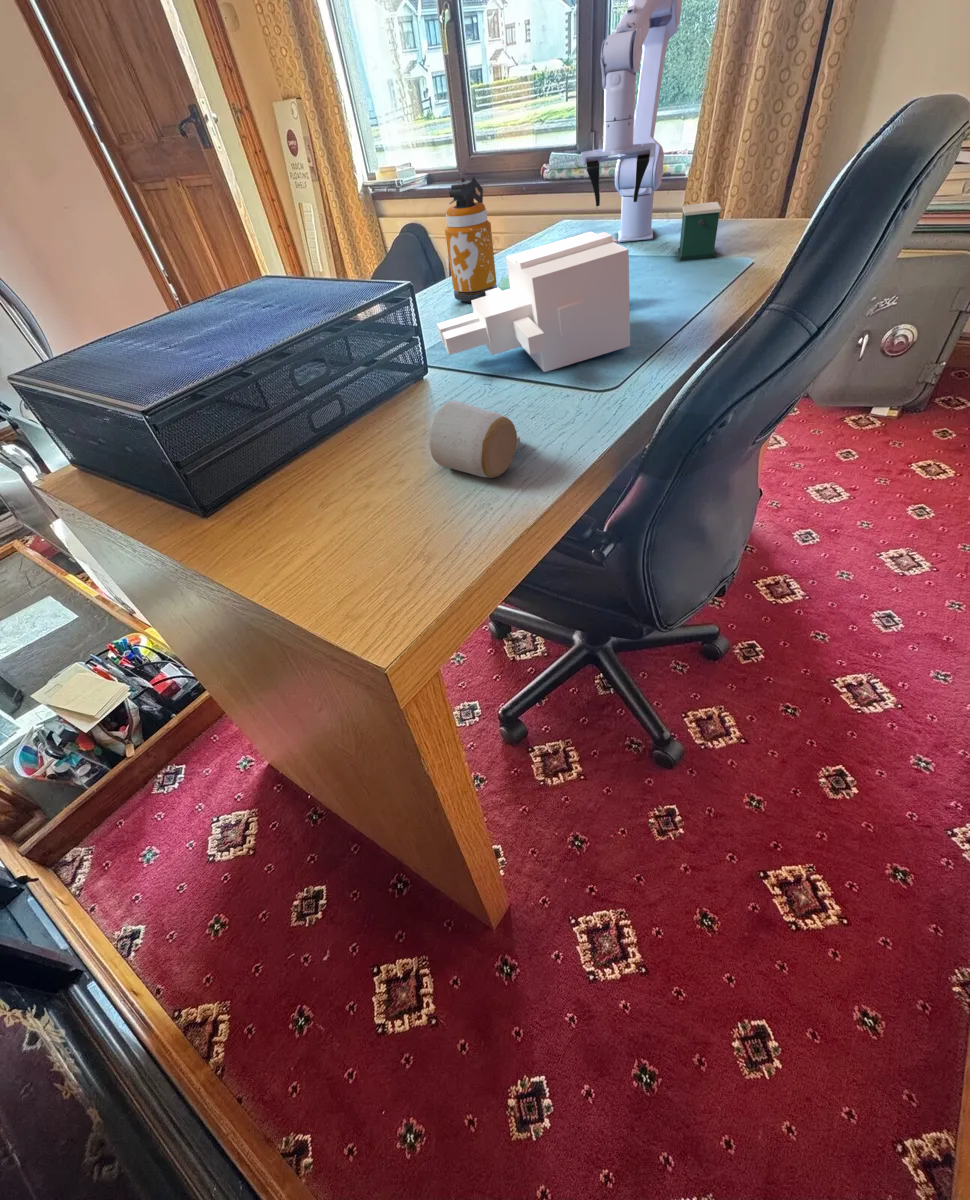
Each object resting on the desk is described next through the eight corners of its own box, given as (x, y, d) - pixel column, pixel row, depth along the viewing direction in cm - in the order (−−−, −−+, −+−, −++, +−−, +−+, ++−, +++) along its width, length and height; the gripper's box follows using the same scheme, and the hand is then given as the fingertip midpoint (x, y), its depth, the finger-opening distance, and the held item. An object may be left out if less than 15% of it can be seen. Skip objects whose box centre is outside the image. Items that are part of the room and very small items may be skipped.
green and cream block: (685, 212, 112) (721, 208, 111) (682, 204, 118) (717, 201, 116) (680, 261, 118) (714, 258, 117) (677, 251, 124) (710, 248, 122)
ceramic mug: (489, 492, 64) (482, 429, 58) (433, 477, 68) (421, 416, 62) (536, 449, 70) (533, 388, 64) (482, 437, 74) (475, 379, 68)
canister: (448, 304, 116) (430, 186, 102) (469, 287, 123) (454, 175, 110) (488, 304, 113) (474, 182, 99) (507, 287, 120) (497, 171, 106)
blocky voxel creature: (440, 358, 100) (589, 313, 101) (470, 417, 82) (650, 361, 83) (417, 267, 90) (582, 218, 91) (446, 311, 72) (651, 249, 73)
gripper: (580, 126, 108) (580, 211, 117) (658, 115, 105) (652, 203, 114) (582, 122, 113) (582, 203, 122) (657, 112, 110) (651, 196, 119)
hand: (616, 203), depth 119 cm, fingers open, 7 cm apart
